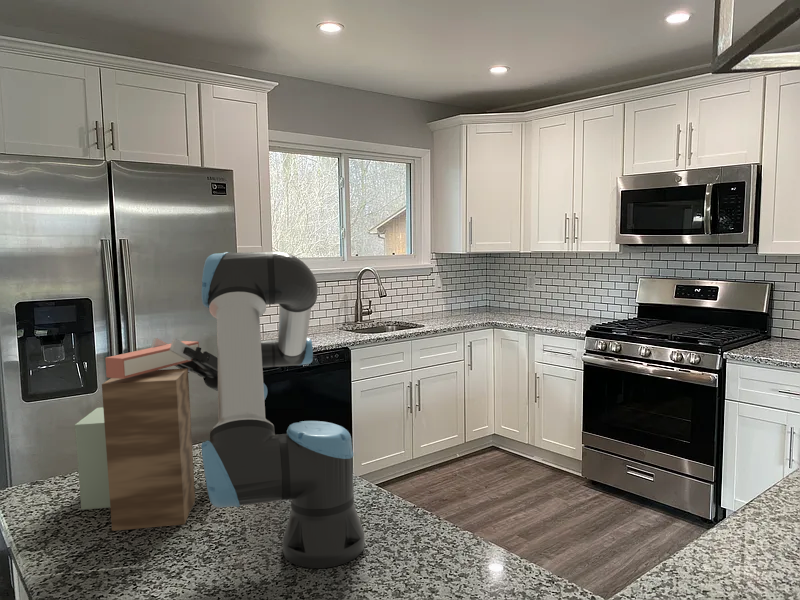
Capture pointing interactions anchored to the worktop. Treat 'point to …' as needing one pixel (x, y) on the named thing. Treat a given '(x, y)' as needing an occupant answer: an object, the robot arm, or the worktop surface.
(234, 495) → the robot arm
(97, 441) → the sage step
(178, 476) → the walnut block
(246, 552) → the worktop surface
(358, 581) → the worktop surface
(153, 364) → the salmon pink bar
